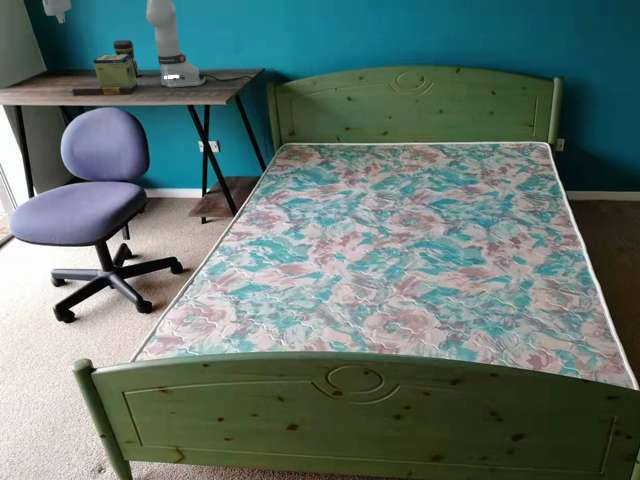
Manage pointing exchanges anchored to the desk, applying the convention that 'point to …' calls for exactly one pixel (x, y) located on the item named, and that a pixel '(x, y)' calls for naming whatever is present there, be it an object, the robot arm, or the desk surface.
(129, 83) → the protein box
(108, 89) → the guide rail
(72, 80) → the desk surface
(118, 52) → the coffee jar
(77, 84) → the desk surface
